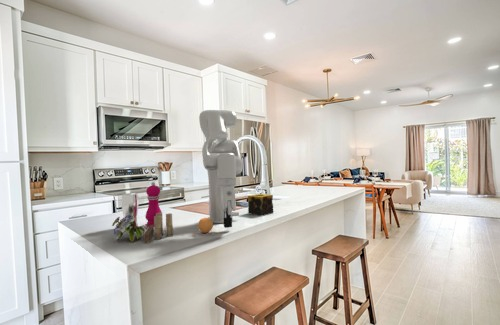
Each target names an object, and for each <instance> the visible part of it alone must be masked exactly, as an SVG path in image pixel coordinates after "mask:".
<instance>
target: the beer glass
mask: <svg viewBox="0 0 500 325" xmlns="http://www.w3.org/2000/svg"><path fill="white" fill-rule="evenodd" d="M120 204H121V211H122V214H123V218H125V217H126V216H128V215H131V214H132V213H133V212H134V216H133V218H135V227H137V226H139V224H138V211H139V204H140V203H139V193H137V192H129V193H123V194H121V203H120ZM133 218H132V219H133ZM132 227H133V226H131V227H130V229H131V228H132Z"/></svg>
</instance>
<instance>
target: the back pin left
mask: <svg viewBox="0 0 500 325" xmlns="http://www.w3.org/2000/svg"><path fill="white" fill-rule="evenodd" d="M153 234H154V240H159V241H160V240H161V239H162V235H161V216H154V233H153Z"/></svg>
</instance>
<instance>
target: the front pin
mask: <svg viewBox="0 0 500 325" xmlns="http://www.w3.org/2000/svg"><path fill="white" fill-rule="evenodd" d="M165 228H166V230H165V236H166V237H168V238H169V237H173V234H174V232H173V231H174V230H173V213H165Z"/></svg>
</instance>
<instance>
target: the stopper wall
mask: <svg viewBox="0 0 500 325" xmlns="http://www.w3.org/2000/svg"><path fill="white" fill-rule="evenodd" d="M154 234H155V233H154V225H150V226H149V227H147V230H146V231H144V234H143V244H149V243H150V241H151V239H152V237H153V235H154Z"/></svg>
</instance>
